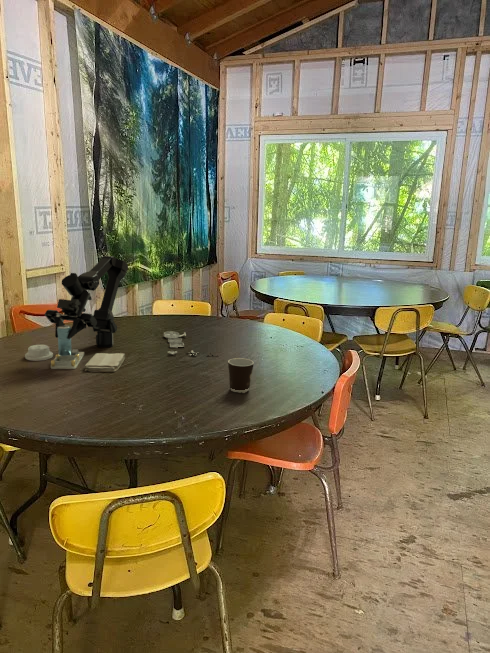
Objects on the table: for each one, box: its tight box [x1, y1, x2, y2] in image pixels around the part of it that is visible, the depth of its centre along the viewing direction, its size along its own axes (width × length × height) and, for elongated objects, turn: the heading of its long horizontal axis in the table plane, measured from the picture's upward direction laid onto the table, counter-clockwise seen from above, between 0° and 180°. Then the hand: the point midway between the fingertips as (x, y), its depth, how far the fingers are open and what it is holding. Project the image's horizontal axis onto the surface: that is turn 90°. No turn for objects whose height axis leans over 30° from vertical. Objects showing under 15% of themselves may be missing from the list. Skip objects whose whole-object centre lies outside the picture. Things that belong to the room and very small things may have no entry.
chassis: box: [50, 348, 85, 370], centre depth 175 cm, size 8×18×3 cm, turn 9°
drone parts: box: [163, 330, 198, 356], centre depth 206 cm, size 23×35×3 cm, turn 11°
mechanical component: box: [24, 344, 54, 362], centre depth 179 cm, size 10×4×10 cm
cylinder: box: [57, 324, 73, 356], centre depth 169 cm, size 5×5×10 cm
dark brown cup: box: [227, 357, 255, 390], centre depth 156 cm, size 12×9×10 cm
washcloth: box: [84, 352, 126, 373], centre depth 174 cm, size 12×18×3 cm, turn 5°
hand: (62, 337), depth 167 cm, fingers closed on cylinder, 5 cm apart
